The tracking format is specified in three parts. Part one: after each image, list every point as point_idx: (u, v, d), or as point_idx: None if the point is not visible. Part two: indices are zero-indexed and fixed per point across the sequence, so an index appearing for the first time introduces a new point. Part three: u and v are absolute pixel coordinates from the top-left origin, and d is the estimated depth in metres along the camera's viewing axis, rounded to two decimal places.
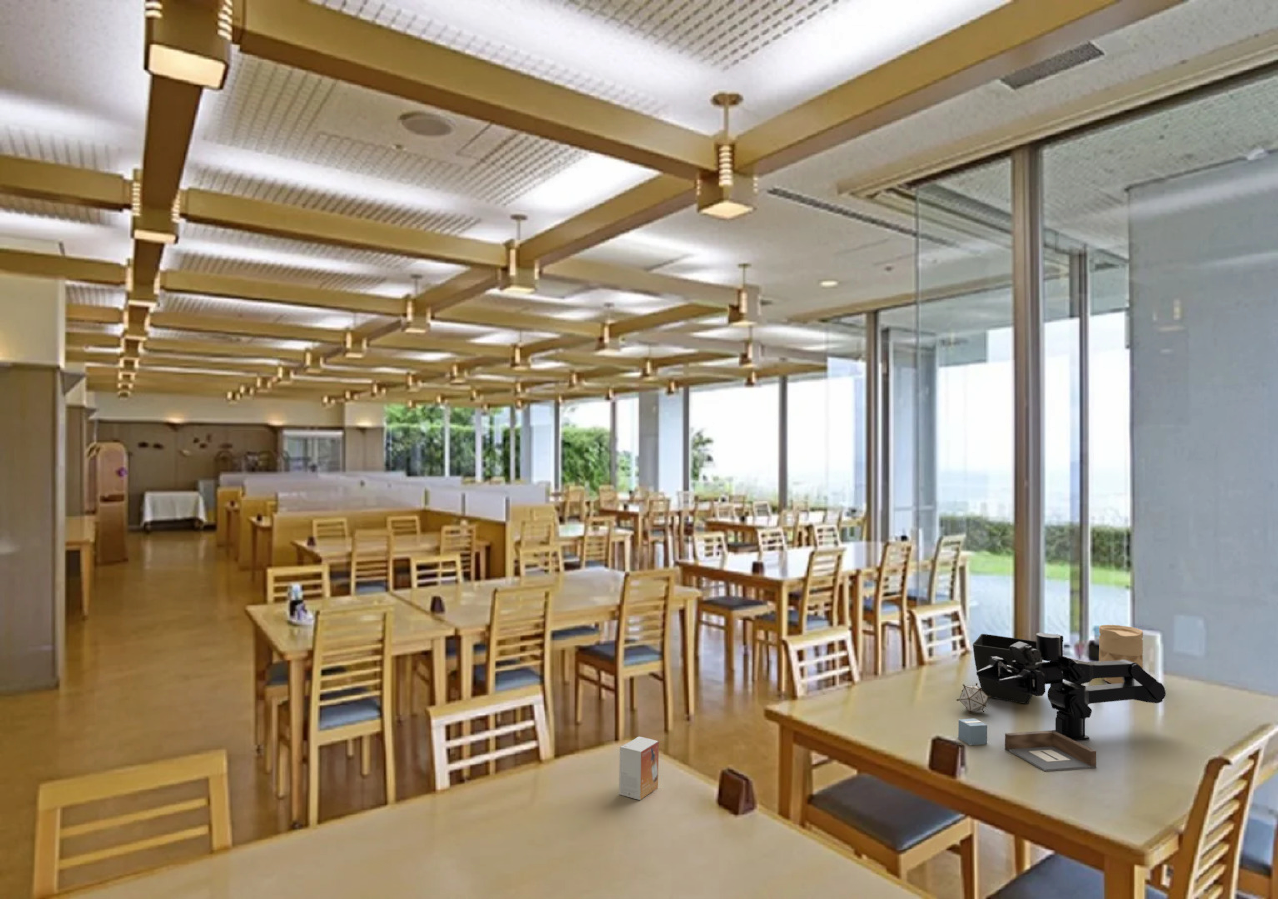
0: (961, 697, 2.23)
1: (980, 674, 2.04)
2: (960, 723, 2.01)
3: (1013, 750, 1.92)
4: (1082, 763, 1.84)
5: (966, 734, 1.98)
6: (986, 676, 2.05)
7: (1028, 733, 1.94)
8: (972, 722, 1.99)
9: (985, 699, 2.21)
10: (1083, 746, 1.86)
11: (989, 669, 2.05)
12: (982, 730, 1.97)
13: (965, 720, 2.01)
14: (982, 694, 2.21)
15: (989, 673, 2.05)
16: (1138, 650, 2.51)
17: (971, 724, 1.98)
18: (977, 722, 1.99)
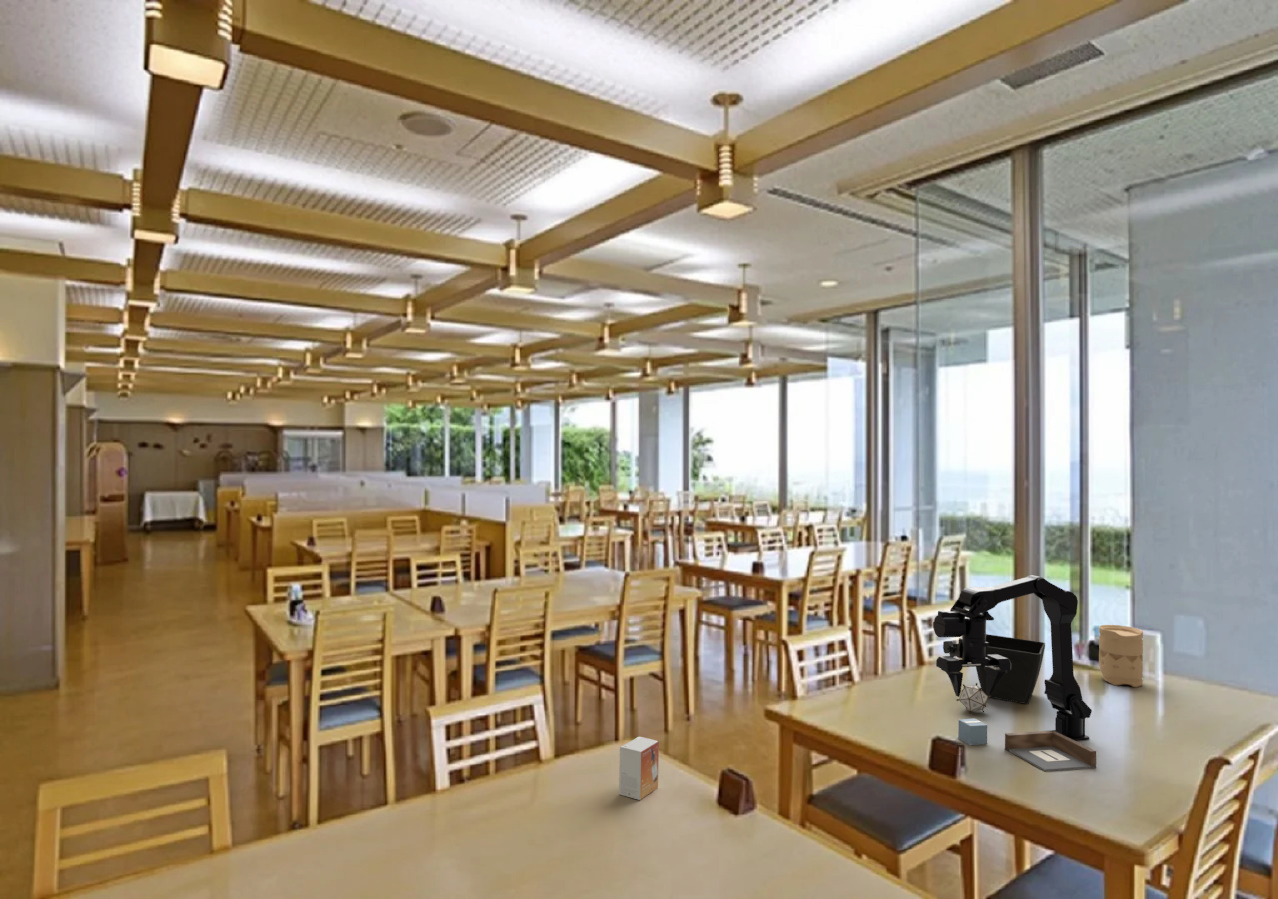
0: (961, 697, 2.23)
1: (988, 691, 2.00)
2: (960, 723, 2.01)
3: (1013, 750, 1.92)
4: (1082, 763, 1.84)
5: (966, 734, 1.98)
6: (991, 685, 2.00)
7: (1028, 733, 1.94)
8: (972, 722, 1.99)
9: (985, 699, 2.21)
10: (1083, 746, 1.86)
11: (987, 678, 2.02)
12: (982, 730, 1.97)
13: (965, 720, 2.01)
14: (982, 694, 2.21)
15: (989, 680, 2.01)
16: (1138, 650, 2.51)
17: (971, 724, 1.98)
18: (977, 722, 1.99)
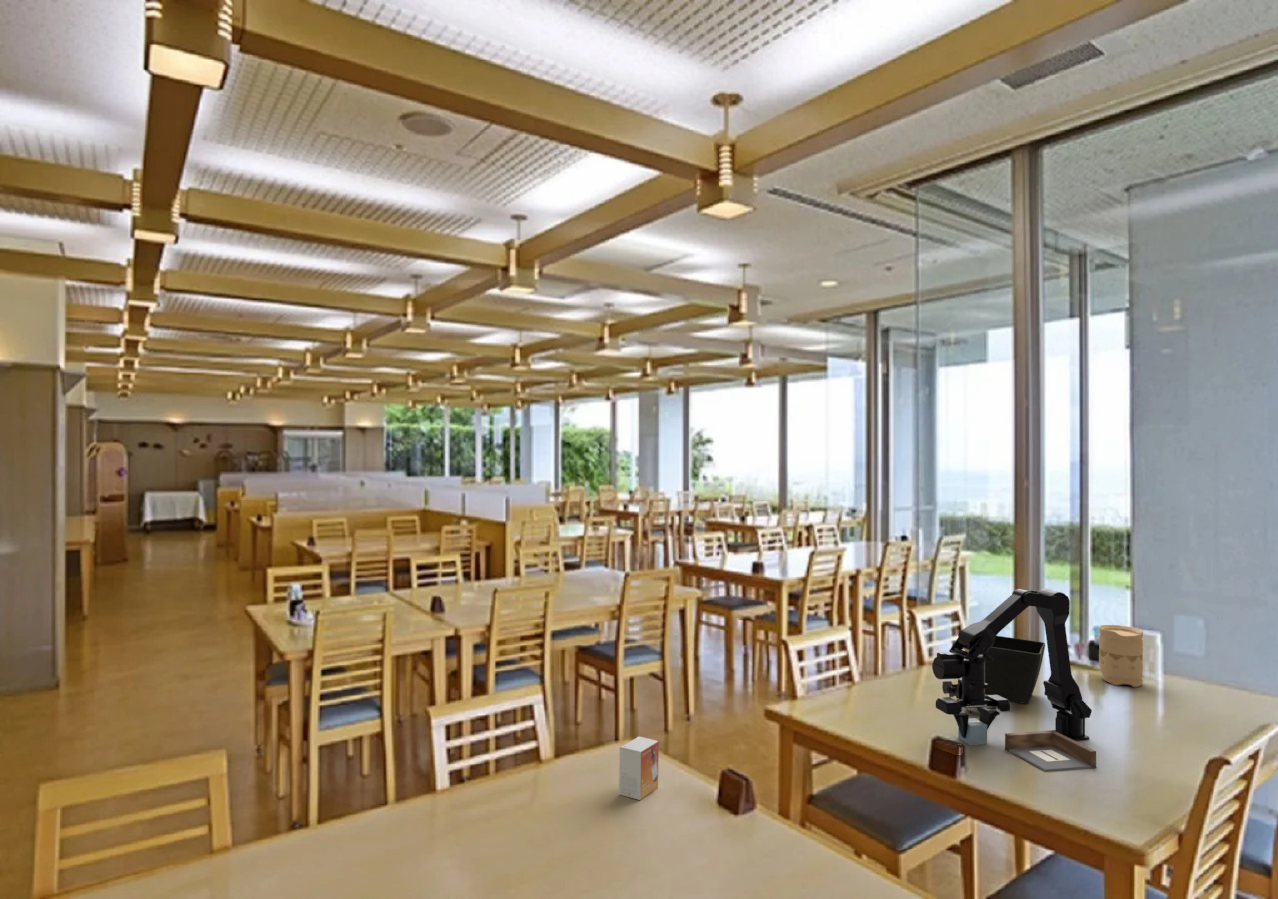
0: None
1: None
2: None
3: (1013, 750, 1.92)
4: (1082, 763, 1.84)
5: (966, 734, 1.98)
6: None
7: (1028, 733, 1.94)
8: (972, 722, 1.99)
9: None
10: (1083, 746, 1.86)
11: (980, 719, 2.01)
12: (982, 730, 1.97)
13: None
14: None
15: (982, 721, 2.00)
16: (1138, 650, 2.51)
17: (971, 724, 1.98)
18: (977, 722, 1.99)
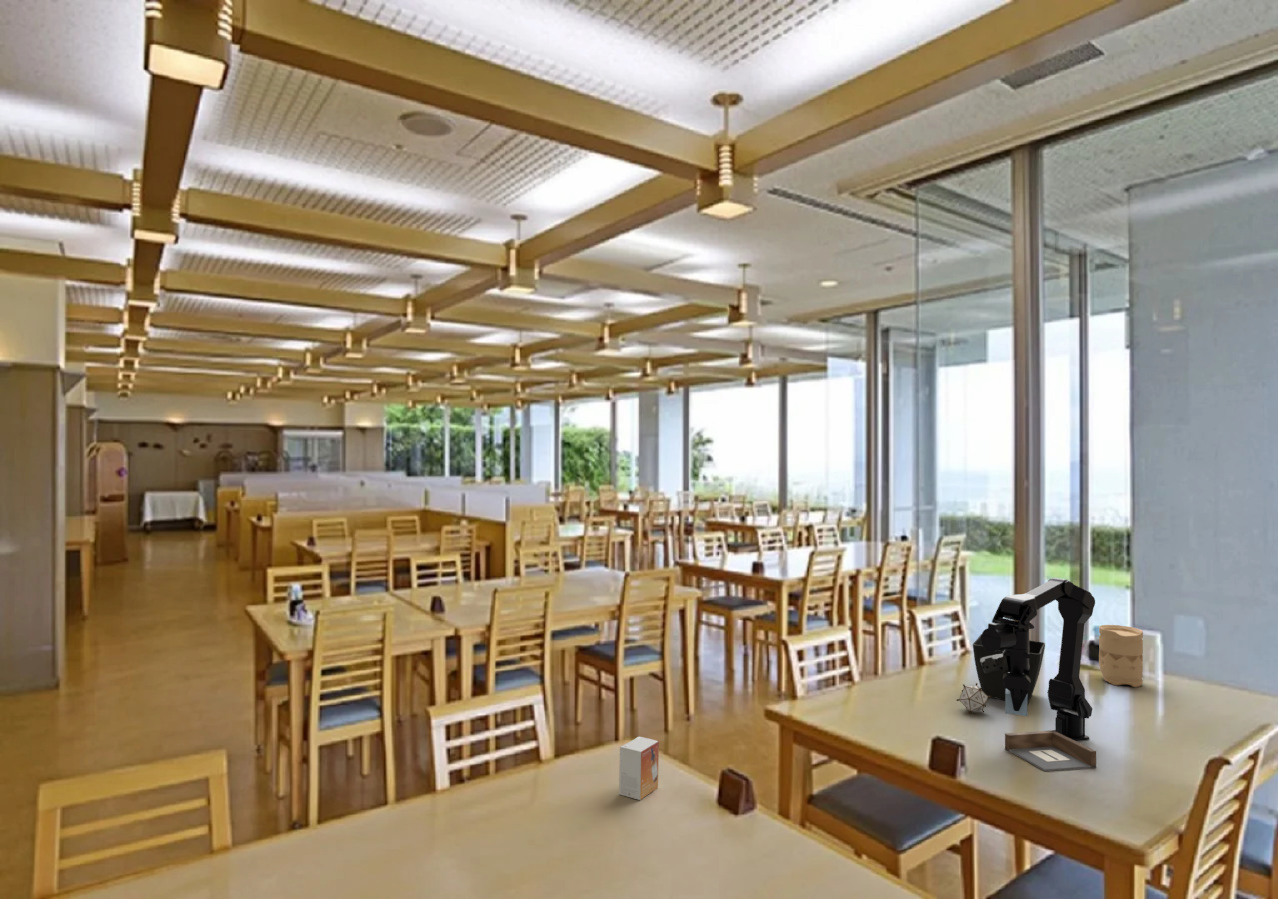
0: (961, 697, 2.23)
1: None
2: (1009, 697, 1.92)
3: (1013, 750, 1.92)
4: (1082, 763, 1.84)
5: None
6: None
7: (1028, 733, 1.94)
8: None
9: (985, 699, 2.21)
10: (1083, 746, 1.86)
11: None
12: None
13: (1009, 692, 1.93)
14: (982, 694, 2.21)
15: None
16: (1138, 650, 2.51)
17: None
18: None
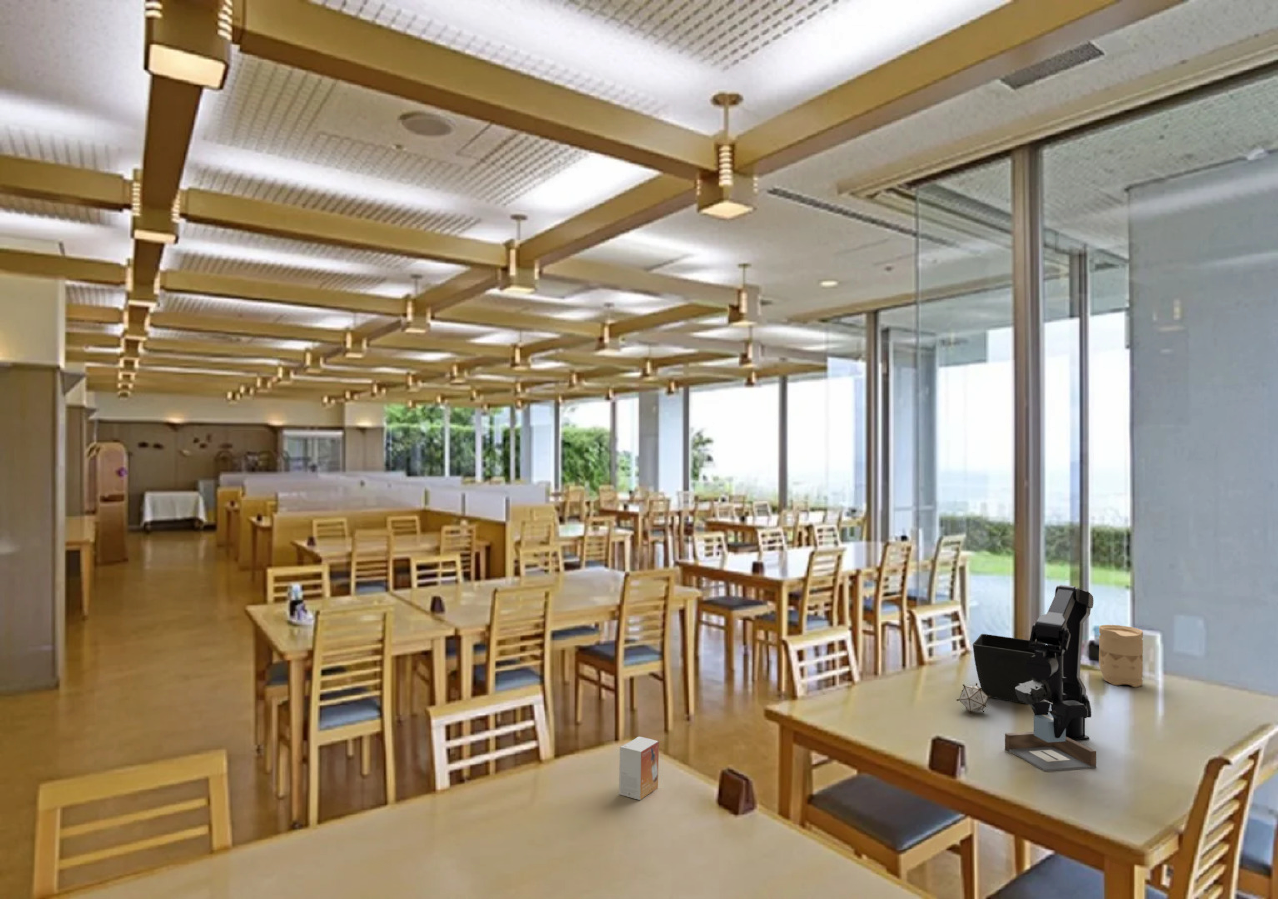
0: (961, 697, 2.23)
1: None
2: (1051, 725, 1.86)
3: (1013, 750, 1.92)
4: (1082, 763, 1.84)
5: None
6: None
7: (1028, 733, 1.94)
8: (1051, 718, 1.89)
9: (985, 699, 2.21)
10: (1083, 746, 1.86)
11: (1038, 714, 1.92)
12: None
13: (1047, 720, 1.88)
14: (982, 694, 2.21)
15: (1042, 714, 1.92)
16: (1138, 650, 2.51)
17: None
18: (1048, 716, 1.90)
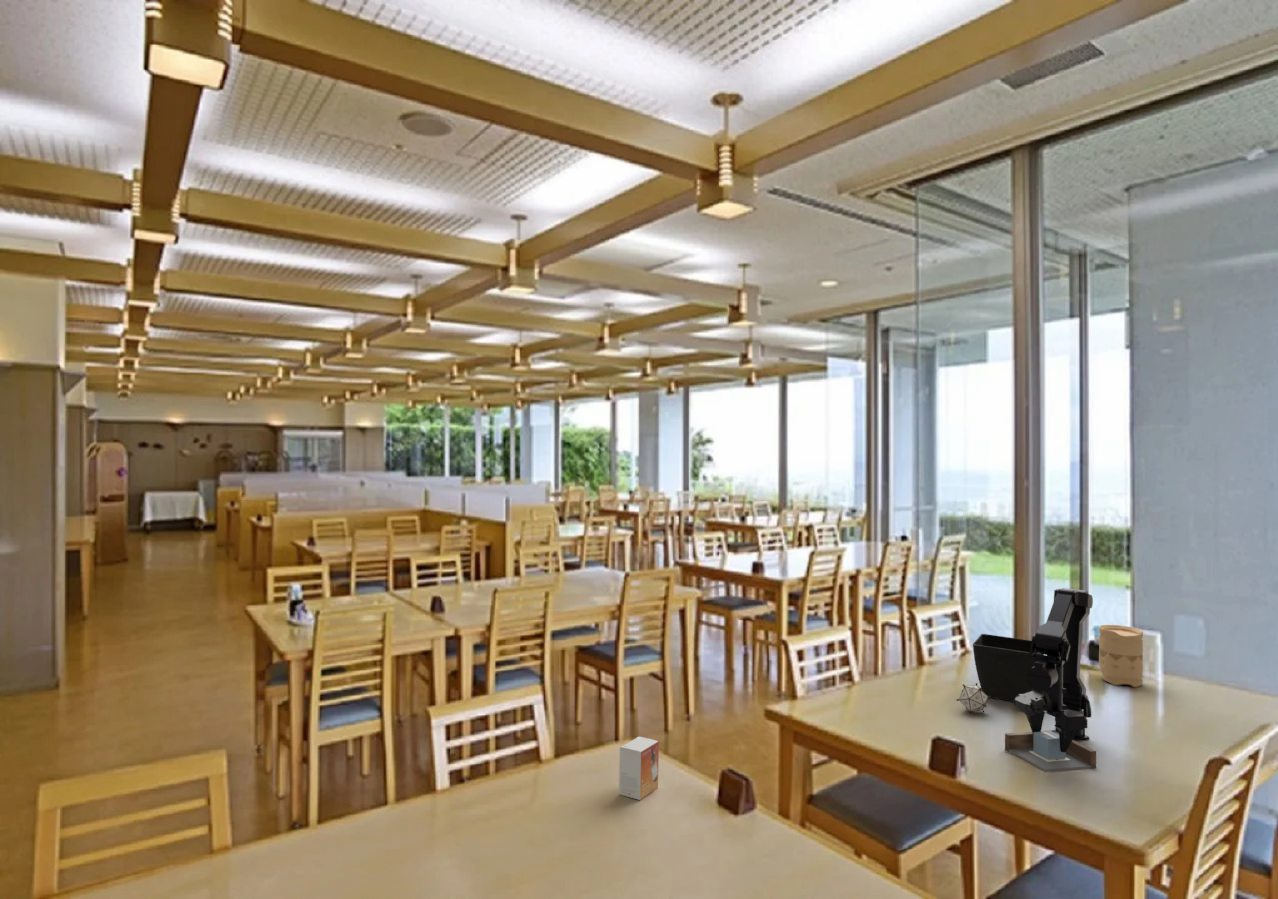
0: (961, 697, 2.23)
1: None
2: (1051, 742, 1.86)
3: (1013, 750, 1.92)
4: (1082, 763, 1.84)
5: (1059, 749, 1.87)
6: (1039, 726, 1.94)
7: (1028, 733, 1.94)
8: (1051, 735, 1.89)
9: (985, 699, 2.21)
10: (1083, 746, 1.86)
11: (1033, 722, 1.93)
12: None
13: (1047, 737, 1.87)
14: (982, 694, 2.21)
15: (1037, 722, 1.94)
16: (1138, 650, 2.51)
17: (1058, 736, 1.88)
18: (1048, 733, 1.90)
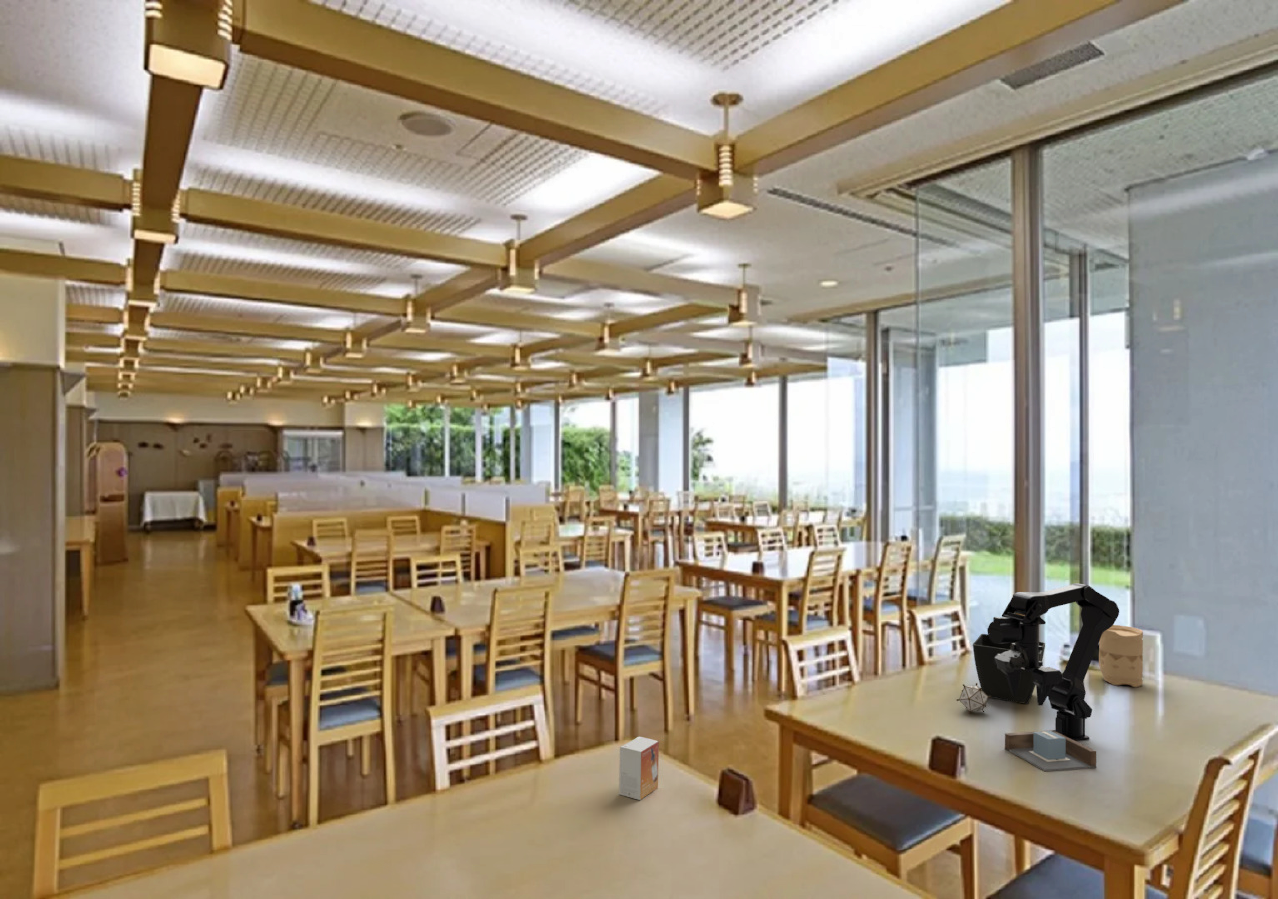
0: (961, 697, 2.23)
1: (1015, 691, 2.05)
2: (1051, 742, 1.86)
3: (1013, 750, 1.92)
4: (1082, 763, 1.84)
5: (1059, 749, 1.87)
6: (1017, 683, 2.05)
7: (1028, 733, 1.94)
8: (1051, 735, 1.89)
9: (985, 699, 2.21)
10: (1083, 746, 1.86)
11: (1011, 679, 2.05)
12: None
13: (1047, 737, 1.87)
14: (982, 694, 2.21)
15: (1014, 680, 2.05)
16: (1138, 650, 2.51)
17: (1058, 736, 1.88)
18: (1048, 733, 1.90)
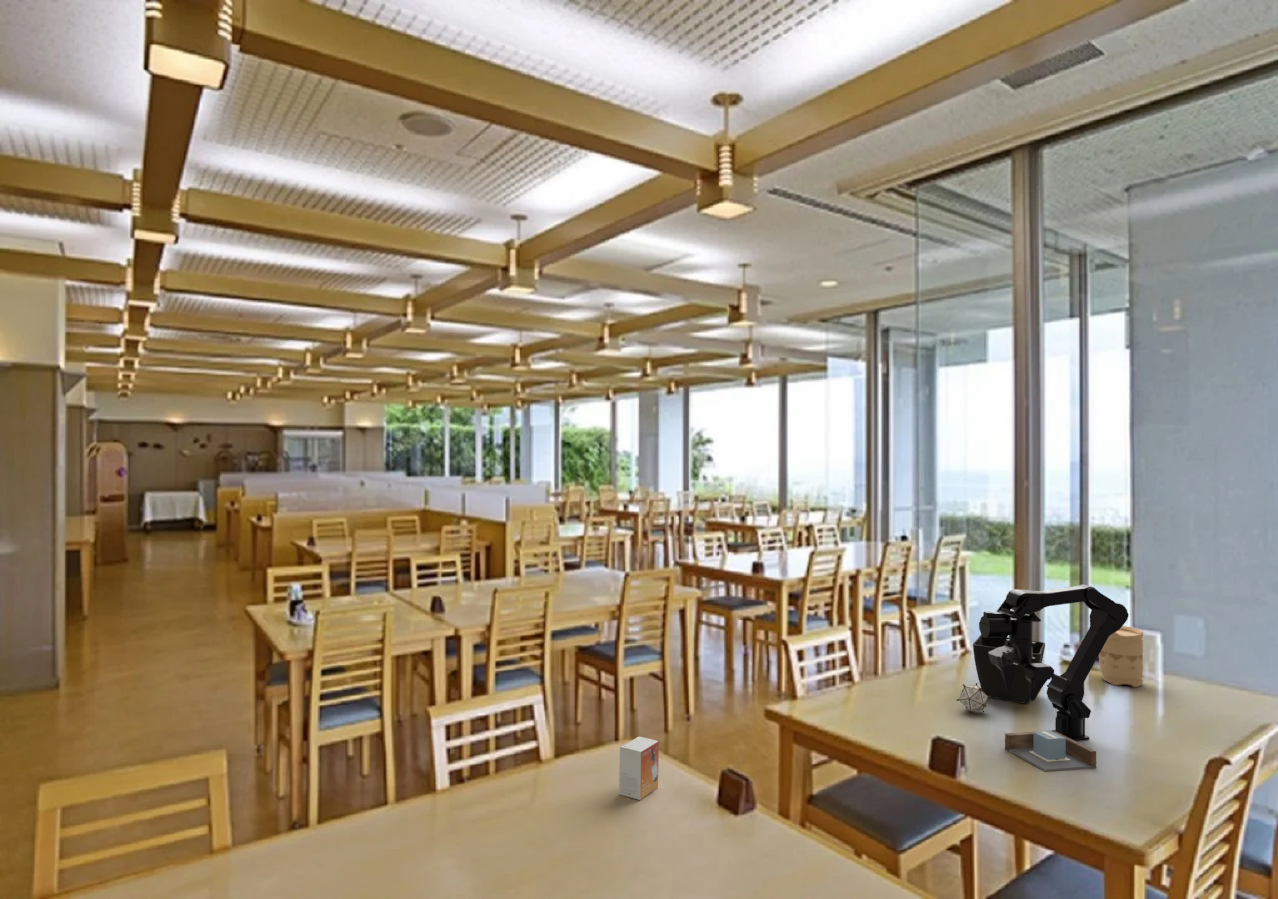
0: (961, 697, 2.23)
1: (1010, 686, 2.08)
2: (1051, 742, 1.86)
3: (1013, 750, 1.92)
4: (1082, 763, 1.84)
5: (1059, 749, 1.87)
6: (1011, 679, 2.08)
7: (1028, 733, 1.94)
8: (1051, 735, 1.89)
9: (985, 699, 2.21)
10: (1083, 746, 1.86)
11: (1005, 675, 2.08)
12: None
13: (1047, 737, 1.87)
14: (982, 694, 2.21)
15: (1009, 675, 2.08)
16: (1138, 650, 2.51)
17: (1058, 736, 1.88)
18: (1048, 733, 1.90)
